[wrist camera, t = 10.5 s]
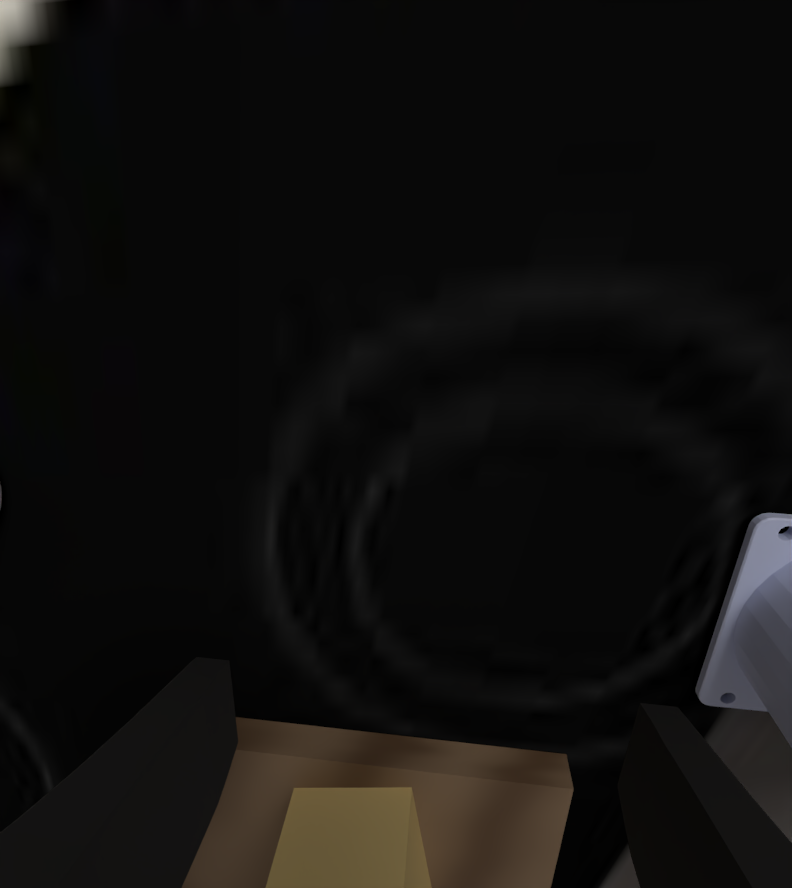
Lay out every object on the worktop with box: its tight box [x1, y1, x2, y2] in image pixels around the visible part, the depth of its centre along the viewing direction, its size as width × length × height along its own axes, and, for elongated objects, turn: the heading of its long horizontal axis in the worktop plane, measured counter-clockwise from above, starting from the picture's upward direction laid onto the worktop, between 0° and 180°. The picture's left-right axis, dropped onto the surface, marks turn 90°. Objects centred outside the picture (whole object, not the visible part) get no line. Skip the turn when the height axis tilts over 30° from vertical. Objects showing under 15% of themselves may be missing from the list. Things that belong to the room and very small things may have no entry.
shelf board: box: [182, 717, 574, 888], centre depth 25 cm, size 18×12×2 cm, turn 88°
